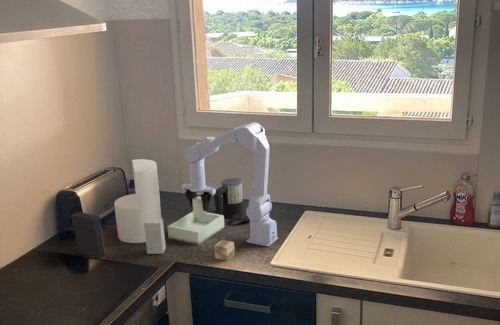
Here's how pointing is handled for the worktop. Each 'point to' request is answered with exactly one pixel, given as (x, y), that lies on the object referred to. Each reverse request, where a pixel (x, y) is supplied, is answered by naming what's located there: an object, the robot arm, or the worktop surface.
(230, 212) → the milk frother
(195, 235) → the tote
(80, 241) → the calculator
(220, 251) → the beech block
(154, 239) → the skincare box
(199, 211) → the ivory cylinder
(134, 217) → the white stepped cylinder
